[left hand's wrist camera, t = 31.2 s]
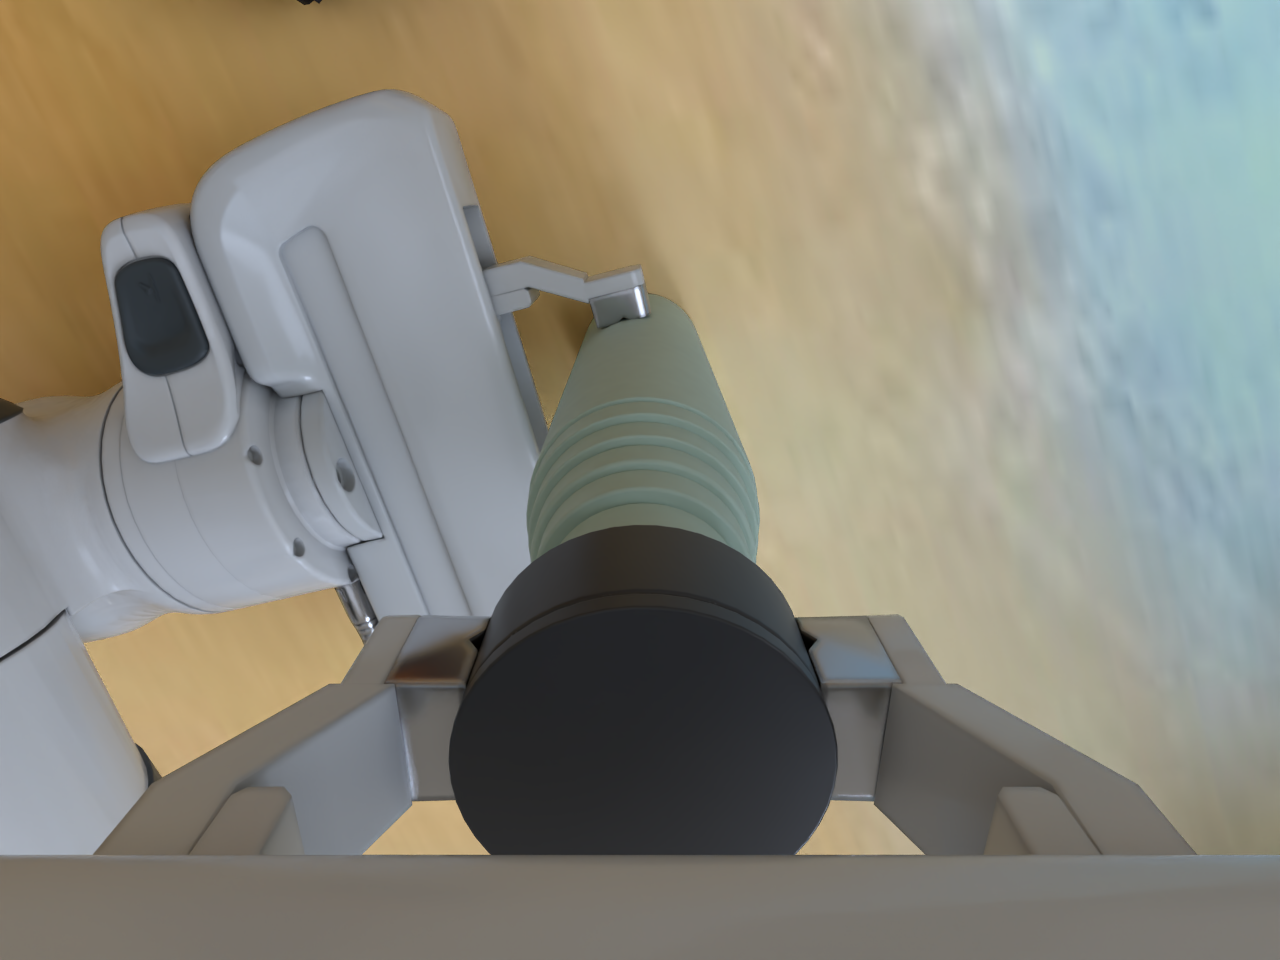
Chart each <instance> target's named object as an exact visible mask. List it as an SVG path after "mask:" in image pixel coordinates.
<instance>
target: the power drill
mask: <svg viewBox="0 0 1280 960" xmlns="http://www.w3.org/2000/svg"><path fill="white" fill-rule="evenodd" d="M298 1H299V2H301V3H302V4H304V5H307V4H310V3H311V2H312V1H314V0H298ZM315 1H316V2H317V3H320V2H321V1H322V0H315Z"/></svg>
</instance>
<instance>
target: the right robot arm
mask: <svg viewBox="0 0 1280 960" xmlns="http://www.w3.org/2000/svg"><path fill="white" fill-rule="evenodd" d="M101 257H102V263H103V269H104V274H105V279H106V284H107V289H108V294H109V299H110V304H111V309H112V315H113V320H114V326H115V332H116V338H117V344H118V352H119V359H120V366H121V375H122V381H121V382H120V383H118V384H116V385H115V386H113V387H111V388H110V389H108V390H107V391H105V392H103V393H101V394H99V395H95V396H89V397H83V396H67V395H66V396H50V397H41V398H36V399H31V400H27V401H24V402H20V403H16V404H14V403H11V402H9V401H6V400H4V399H1V398H0V855H93V853H94V852H95V851H96V850H97V849H98V847H99V846H100V845H101V844H102V843H103V841H104V840H105V839H106V838H107V837H108V835H109V834H110V833H111V832H112V831H113V829H114V828H115V827H116V826H117V825H118V823H119V822H120V821H121V820H122V819H123V817H124V816H125V815H126V814H127V813H128V812H129V810H130V809H131V808H132V807H133V806H134V804H135V803H136V802H137V801H138V800H139V798H140V797H141V796H142V795H143V794H144V792H145V791H146V790H147V789H148V788H149V786H150V785H151V784H152V783H154V782H156V781H157V780H159V779H161V778H162V777H161V775H160V774H159V772H158V771H157V769H156V768H155V766H154V765H153V764H152V762H151V761H150V759H149V758H148V756H147V755H146V753H145V752H144V750H143V749H142V748H141V747H140V746H138V745H137V744H136V743H134V741H133V739H132V737H131V735H130V733H129V731H128V729H127V727H126V725H125V723H124V722H123V720H122V718H121V716H120V714H119V712H118V710H117V708H116V706H115V704H114V702H113V700H112V698H111V696H110V694H109V693H108V691H107V689H106V687H105V685H104V683H103V681H102V679H101V677H100V675H99V673H98V671H97V669H96V667H95V665H94V664H93V662H92V660H91V658H90V656H89V654H88V652H87V650H86V648H85V646H84V644H83V643H87V642H92V641H97V640H102V639H106V638H111V637H115V636H118V635H121V634H124V633H128V632H130V631H133V630H136V629H138V628H140V627H142V626H144V625H146V624H147V623H149V622H151V621H153V620H154V619H156V618H158V617H159V616H161V615H164V614H167V613H186V614H216V613H222V612H226V611H232V610H236V609H241V608H245V607H250V606H254V605H259V604H263V603H268V602H272V601H277V600H281V599H285V598H290V597H293V596H298V595H302V594H307V593H311V592H316V591H321V590H325V589H330V588H335V590H336V592H337V594H338V597H339V599H340V601H341V603H342V605H343V607H344V610H345V612H346V614H347V616H348V617H349V619H350V621H351V623H352V624H353V626H354V627H355V629H356V630H357V632H358V634H359V635H360V637H361V639H362V641H363V644H364V645H365V643H366V642H367V640H368V639H369V637H370V635H371V634H372V632H373V631H374V629H375V627H376V626H377V624H378V622H379V621H380V619H381V618H382V617H385V616H387V615H421V616H423V615H438V616H489V617H491V616H492V614H493V611H494V609H495V606H496V605H497V603H498V602H499V600H500V598H501V597H502V595H503V593H504V592H505V590H506V589H507V588H508V586H509V585H510V584H511V583H512V582H513V580H514V579H515V578H516V577H517V576H518V575H519V574H520V573H521V572H522V571H523V570H524V569H525V568H526V567H527V566H528V565H530V564H531V559H530V552H529V546H528V532H527V521H526V512H527V504H528V498H529V488H530V481H531V478H532V474H533V471H534V468H535V465H536V462H537V460H538V457H539V454H540V452H541V449H542V447H543V444H544V441H545V439H546V436H547V434H548V431H549V429H548V426H547V423H546V419H545V416H544V413H543V410H542V406H541V403H540V400H539V397H538V393H537V390H536V387H535V384H534V380H533V377H532V374H531V371H530V367H529V364H528V361H527V357H526V354H525V351H524V348H523V344H522V341H521V338H520V335H519V331H518V328H517V325H516V322H515V318H514V315H513V311H517V310H521V309H525V308H528V307H530V306H531V305H532V304H533V303H534V302H535V301H536V299H537V298H538V297H539V295H540V292H539V290H541V291H544V292H548V293H552V294H555V295H559V296H562V297H566V298H570V299H573V300H577V301H581V302H584V303H588V304H589V302H590V305H591V308H592V312H593V315H594V319H595V322H596V326H597V328H602V327H606V326H610V325H613V324H616V323H618V322H619V321H620V320H621V319H622V318H623V317H624V318H627V319H630V320H631V319H638V318H642V317H645V316H647V315H649V314H651V307H650V302H649V298H648V293H647V289H646V284H645V280H644V276H643V272H642V267H641V265H633V266H628V267H624V268H620V269H616V270H612V271H608V272H604V273H600V274H596V275H593V276H589V277H588V275H587V273H586V272H582V271H579V270H576V269H572V268H569V267H566V266H562V265H559V264H556V263H552V262H549V261H546V260H542V259H539V258H536V257H532V256H527V257H523V258H519V259H515V260H511V261H507V262H503V263H500V264H498V263H497V260H496V256H495V253H494V250H493V247H492V243H491V240H490V237H489V233H488V230H487V227H486V224H485V220H484V217H483V214H482V211H481V207H480V204H479V201H478V198H477V194H476V191H475V188H474V185H473V181H472V178H471V175H470V171H469V168H468V165H467V162H466V158H465V155H464V152H463V149H462V145H461V142H460V139H459V135H458V132H457V129H456V126H455V124H454V122H453V120H452V119H451V117H450V116H449V115H448V114H447V113H445V112H444V111H442V110H440V109H439V108H437V107H436V106H434V105H432V104H431V103H429V102H428V101H426V100H424V99H422V98H420V97H419V96H416V95H414V94H412V93H409V92H406V91H402V90H395V89H384V90H378V91H373V92H370V93H366V94H362V95H359V96H355V97H352V98H349V99H347V100H344V101H341V102H338V103H335V104H332V105H329V106H327V107H324V108H322V109H319V110H316V111H314V112H311V113H309V114H306V115H304V116H301V117H299V118H297V119H294V120H292V121H290V122H288V123H285V124H283V125H281V126H278V127H276V128H274V129H272V130H270V131H268V132H266V133H264V134H262V135H260V136H258V137H256V138H254V139H252V140H250V141H248V142H246V143H244V144H242V145H240V146H238V147H237V148H235V149H233V150H232V151H230V152H228V153H227V154H225V155H224V156H223V157H221V158H220V159H219V160H217V161H216V162H215V163H214V164H213V165H212V166H211V167H210V168H209V169H208V170H207V171H206V172H205V174H204V175H203V176H202V178H201V179H200V181H199V182H198V184H197V186H196V189H195V191H194V194H193V197H192V202H191V203H182V204H174V205H168V206H162V207H157V208H152V209H148V210H144V211H140V212H136V213H133V214H130V215H127V216H124V217H120V218H118V219H116V220H113V221H112V222H110V223H109V224H108V225H107V226H106V227H105V228H104V230H103V232H102V236H101Z"/></svg>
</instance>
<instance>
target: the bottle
mask: <svg viewBox="0 0 1280 960" xmlns="http://www.w3.org/2000/svg"><path fill="white" fill-rule="evenodd" d="M648 298H649V302H650V307H651V314H649V315H647V316H645V317H642V318H638V319H631V320H630V319H627V318H624V317H623V318H622V319H621V320H620V321H619V322H618V323H616V324H613V325H610V326H606V327H602V328H597V326H596V322H595V319H594V318H593V320H592V321H591V323H590V325H589V327H588V329H587V332H586V334H585V337H584V340H583V342H582V345H581V347H580V350H579V353H578V355H577V358H576V361H575V363H574V366H573V368H572V371H571V374H570V376H569V379H568V381H567V384H566V387H565V389H564V392H563V394H562V397H561V400H560V402H559V405H558V407H557V410H556V413H555V415H554V418H553V421H552V423H551V426H550V428H549V431H548V434H547V436H546V439H545V441H544V444H543V447H542V449H541V452H540V454H539V457H538V460H537V462H536V465H535V468H534V471H533V474H532V478H531V481H530V488H529V498H528V504H527V512H526V521H527V532H528V546H529V552H530V559H531V563H532V562H533V561H534V560H536V559H537V558H539V557H540V556H542V555H543V554H545V553H546V552H547V551H549V550H550V549H552V548H554V547H556V546H558V545H560V544H562V543H564V542H566V541H568V540H570V539H573V538H576V537H579V536H581V535H584V534H587V533H590V532H593V531H598V530H602V529H607V528H610V527H619V526H628V525H659V526H666V527H674V528H680V529H684V530H688V531H692V532H695V533H699V534H703V535H705V536H707V537H710V538H712V539H715V540H717V541H720V542H722V543H724V544H726V545H727V546H729V547H731V548H733V549H735V550H736V551H738V552H740V553H741V554H743V555H744V556H745V557H747V558H748V559H750V560H751V561H752V562H754V563H755V564H756V555H757V547H758V532H759V523H760V517H759V504H758V498H757V490H756V484H755V478H754V475H753V472H752V469H751V466H750V463H749V461H748V458H747V456H746V453H745V451H744V448H743V446H742V443H741V441H740V438H739V436H738V433H737V431H736V428H735V426H734V423H733V421H732V418H731V416H730V413H729V411H728V408H727V406H726V403H725V401H724V398H723V396H722V393H721V391H720V388H719V386H718V383H717V381H716V379H715V376H714V374H713V371H712V369H711V366H710V364H709V361H708V359H707V356H706V354H705V351H704V349H703V346H702V344H701V341H700V339H699V336H698V334H697V331H696V329H695V327H694V325H693V323H692V321H691V320H690V318H689V317H688V315H687V314H686V313H685V312H684V311H683V310H682V309H681V308H680V307H679V306H678V305H676V304H675V303H673V302H672V301H670V300H668V299H666V298H664V297H661V296H658V295H655V294H649V293H648Z"/></svg>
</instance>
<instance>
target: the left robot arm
mask: <svg viewBox="0 0 1280 960" xmlns="http://www.w3.org/2000/svg"><path fill="white" fill-rule="evenodd" d="M490 619H491V617H489V616H438V615H423V616H421V615H387V616H385V617H382V618H381V619H380V621H379V622H378V624H377V626H376V627H375V629H374V631H373V632H372V634H371V635H370V637H369V639H368V640H367V642H366V643H365V645H364V647H363V648H362V650H361V652H360V653H359V655H358V656H357V658H356V660H355V661H354V663H353V665H352V666H351V668H350V669H349V671H348V673H347V674H346V676H345V677H344V679H343V681H342V682H341V684H328V685H327V686H325V687H323V688H321V689H320V690H318V691H316V692H314V693H312V694H311V695H309V696H307V697H305V698H303V699H302V700H300V701H298V702H296V703H295V704H293V705H291V706H289V707H287V708H286V709H284V710H282V711H280V712H279V713H277V714H275V715H273V716H271V717H270V718H268V719H266V720H264V721H262V722H261V723H259V724H257V725H255V726H254V727H252V728H250V729H248V730H246V731H245V732H243V733H241V734H239V735H238V736H236V737H234V738H232V739H230V740H229V741H227V742H225V743H223V744H221V745H220V746H218V747H216V748H214V749H213V750H211V751H209V752H207V753H205V754H204V755H202V756H200V757H198V758H197V759H195V760H193V761H191V762H189V763H188V764H186V765H184V766H182V767H181V768H179V769H177V770H175V771H173V772H172V773H170V774H168V775H166V776H164V777H163V778H161V779H159V780H157V781H156V782H154V783H152V784H151V785H150V786H149V788H148V789H147V790H146V791H145V792H144V794H143V795H142V796H141V797H140V798H139V800H138V801H137V802H136V803H135V804H134V806H133V807H132V808H131V809H130V810H129V812H128V813H127V814H126V815H125V816H124V817H123V819H122V820H121V821H120V822H119V823H118V825H117V826H116V827H115V828H114V829H113V831H112V832H111V833H110V834H109V835H108V837H107V838H106V839H105V840H104V841H103V843H102V844H101V845H100V846H99V847H98V849H97V850H96V851H95V852H94V853H93V855H0V960H1280V855H1197V854H1196V853H1195V852H1194V851H1193V849H1192V848H1191V847H1190V846H1189V845H1188V843H1187V842H1186V841H1185V840H1184V839H1183V837H1182V836H1181V835H1180V834H1179V833H1178V832H1177V830H1176V829H1175V828H1174V827H1173V826H1172V824H1171V823H1170V822H1169V821H1168V820H1167V818H1166V817H1165V816H1164V815H1163V814H1162V813H1161V811H1160V810H1159V809H1158V808H1157V807H1156V805H1155V804H1154V803H1153V802H1152V801H1151V799H1150V798H1149V797H1148V796H1147V795H1146V793H1145V792H1144V791H1143V790H1142V789H1141V788H1140V786H1139V785H1138V784H1136V783H1134V782H1132V781H1130V780H1129V779H1127V778H1125V777H1123V776H1122V775H1120V774H1118V773H1116V772H1114V771H1113V770H1111V769H1109V768H1107V767H1105V766H1104V765H1102V764H1100V763H1098V762H1096V761H1095V760H1093V759H1091V758H1089V757H1087V756H1086V755H1084V754H1082V753H1080V752H1079V751H1077V750H1075V749H1073V748H1071V747H1070V746H1068V745H1066V744H1064V743H1062V742H1061V741H1059V740H1057V739H1055V738H1053V737H1052V736H1050V735H1048V734H1046V733H1044V732H1043V731H1041V730H1039V729H1037V728H1035V727H1034V726H1032V725H1030V724H1028V723H1027V722H1025V721H1023V720H1021V719H1019V718H1018V717H1016V716H1014V715H1012V714H1010V713H1009V712H1007V711H1005V710H1003V709H1001V708H1000V707H998V706H996V705H994V704H992V703H991V702H989V701H987V700H985V699H984V698H982V697H980V696H978V695H976V694H975V693H973V692H971V691H969V690H967V689H966V688H964V687H962V686H960V685H958V684H946V683H945V681H944V680H943V678H942V676H941V675H940V673H939V672H938V670H937V669H936V667H935V666H934V664H933V662H932V661H931V659H930V658H929V656H928V655H927V653H926V651H925V650H924V648H923V647H922V645H921V644H920V642H919V641H918V639H917V637H916V636H915V634H914V633H913V631H912V630H911V628H910V626H909V625H908V623H907V622H906V620H905V619H904V617H902V616H900V615H898V614H896V615H870V616H838V617H798V618H795V620H796V623H797V626H798V629H799V631H800V634H801V637H802V640H803V642H804V645H805V648H806V651H807V653H808V656H809V659H810V662H811V664H812V667H813V670H814V673H815V675H816V678H817V681H818V684H819V686H820V689H821V692H822V694H823V697H824V700H825V703H826V705H827V708H828V711H829V714H830V716H831V719H832V722H833V724H834V729H835V734H836V740H837V745H838V769H837V775H836V782H835V787H834V791H833V794H832V797H831V800H846V801H874V805H875V806H876V807H877V808H878V809H879V810H880V811H881V812H882V813H883V814H884V815H885V816H886V817H887V818H888V819H890V820H891V821H892V822H893V823H894V824H895V825H896V826H897V827H898V828H899V829H900V830H901V831H902V832H903V833H904V834H905V835H906V836H907V837H908V838H909V839H910V840H911V841H912V842H913V843H914V844H915V845H916V846H917V847H918V848H919V849H920V850H921V851H922V852H923V853H924V854H925V855H362V854H363V853H364V852H365V851H366V850H367V849H368V848H369V847H370V846H371V845H372V844H373V843H374V842H375V841H376V840H377V839H378V838H379V837H380V836H381V835H382V834H383V833H384V832H385V831H386V830H387V829H388V828H389V827H390V826H391V825H392V824H393V823H394V822H395V821H396V820H397V819H398V818H399V817H400V816H401V815H402V814H404V813H405V812H406V811H407V810H408V809H409V808H410V807H411V806H412V801H439V800H455V796H454V792H453V789H452V785H451V781H450V772H449V762H448V759H449V743H450V737H451V733H452V729H453V724H454V720H455V717H456V715H457V712H458V709H459V706H460V704H461V700H462V697H463V695H464V692H465V690H466V687H467V684H468V682H469V679H470V676H471V673H472V670H473V667H474V665H475V662H476V659H477V656H478V652H479V649H480V646H481V643H482V641H483V638H484V636H485V633H486V630H487V627H488V624H489V622H490Z"/></svg>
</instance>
